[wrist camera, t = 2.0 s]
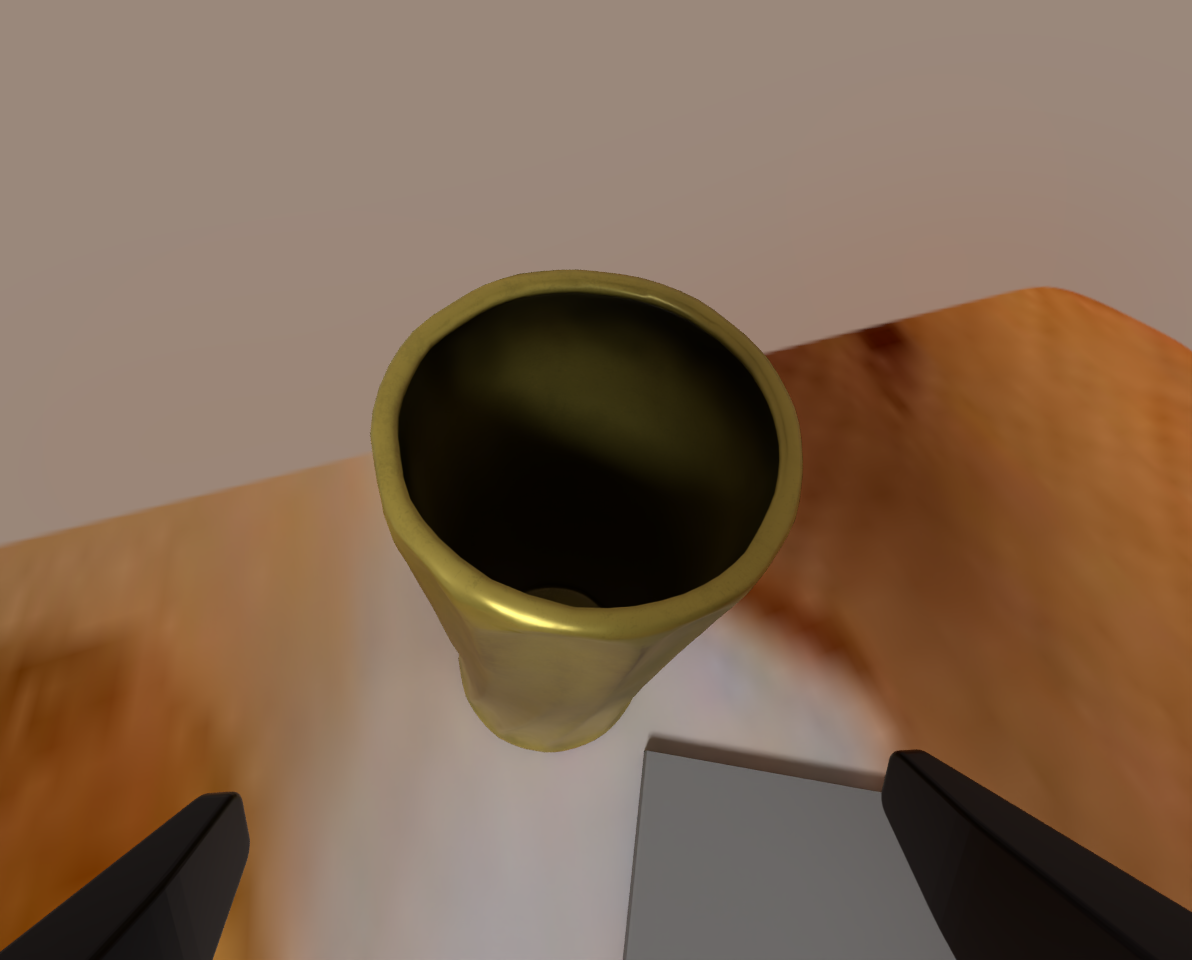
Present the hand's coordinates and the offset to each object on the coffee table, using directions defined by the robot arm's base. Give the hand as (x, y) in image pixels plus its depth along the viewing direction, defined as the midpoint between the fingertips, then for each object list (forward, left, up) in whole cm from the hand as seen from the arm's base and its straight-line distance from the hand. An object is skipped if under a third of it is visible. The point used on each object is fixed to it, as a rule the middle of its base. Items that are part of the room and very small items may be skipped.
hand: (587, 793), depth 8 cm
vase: (+4, +1, -11) cm, 12 cm away
